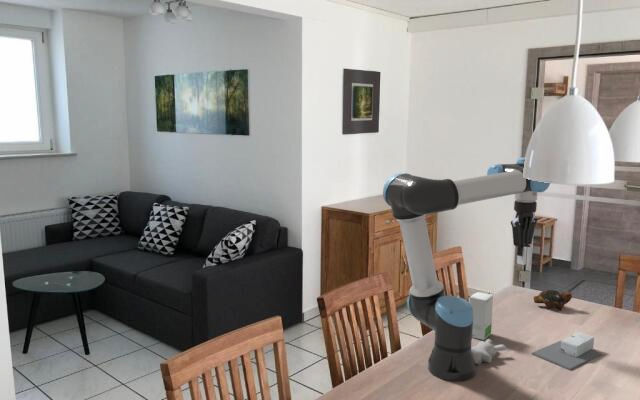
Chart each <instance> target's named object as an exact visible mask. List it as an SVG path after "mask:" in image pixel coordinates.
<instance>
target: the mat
mask: <svg viewBox="0 0 640 400" xmlns="http://www.w3.org/2000/svg"><path fill="white" fill-rule="evenodd" d="M564 339H565V338H563V339H561V340H559V341H556V342H554V343H552V344H549V345H547V346H545V347H543V348H542V347H541V348H540V349H538V350H535V351H533V352H531V355H533V356H535V357H537V358H540V359H542V360H545V361H547V362H549V363H552V364H554V365H557V366H559V367H561V368H563V369H566V370H569V371H572V370H573V369H575V368H577V367H579V366H581V365H584V364H585V363H588V362H590V361H592V360H594V359H596V358H598V357H600V356H602V355H603V352H601V351H599V350H598V351H597V350H595V349H593V348H592V349H590V350H589V351H587V352H585V353H583V354H582V355H580V356H578V357H575V356H572V355H568V354H566V353H564V352H561V351H560V350H561V341H562V340H564Z"/></svg>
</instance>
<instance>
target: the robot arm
mask: <svg viewBox="0 0 640 400" xmlns="http://www.w3.org/2000/svg"><path fill="white" fill-rule="evenodd" d="M524 161H525V156H522V157H518V158H517V160H516V163H506V164H505V163H497V164H492V165H490V166H489V167H488V169H487V172H486V175H480V176H477V177H476V176H475V177H468V178H465V179H464V178H463V179H458V180H452V179H451V178H446V179H445V178H444V179H433V178H427V177H421V176H419V175H418V176H417V175H412V174H410V173H402V172H400V173H396V174H394V175H393V174H392V175H391V176H390V177H389V178H388V179H387V180H386V182H385V184H384V186H383V188H382V197H383V199H384V202H385V203H386V205H388V206H390V208H391V213H392V218H393V219H394V220H395V221H397V222H398V223H399V228H400V232H401V237H402V241H403V246H404V252H405V257H406V259H407V264H408V271H409V273H410V277H411V278H410V279H411V283H412V285H411V287H410V288H409V293H408V295H409V296H407V300H406V305H407V309H408V311H409V313H410V314H411V316H413V318H415V320H417V321H419V322H420V323H421V324H423V325H425V326H426V327H428V328H429V329H431V330H432V331H434V342H433V345H434V346H433V348H432V350H431V352H430V355H429V358H428V361H427V362H428V363H427V368H428V371H429V372H430V373H431V375H434V376H436V377H437V378H439V379H442V380H447V381H451V382H452V381H453V382H454V381H455V382H460V381H461V382H462V381H468V380H470V379H472V378H474V377H475V375H476V370H477V366H476V365H477V364H475V362H474V360H473V355H472V351H471V346H472V342H473V340H472V338H473V337H472V328H473V318H474V317H473V308H472V306H471V304H470V301H468V300H466V299H464V298H462V297H461V296H460V297H459V296H455V295H448V294H447V295H446V290H445V287H444V283H442V282H441V281H439V280H438V276H437V269H436V265H435V261H434V255H433V251H432V245H431V241H430V235H429V231H428V226H427V222H426V216H427V215H431V214H437V213H438V214H439V213H441V212H446V211H451V210H455V209H456V208H458V206H460V205H465V204H471V203H475V202H480V201H486V200H491V199H497V198H501V197H505V196H511V195H514V199H515V200H514V203H513V210H514V211H515V212H516V213H515V219H514V220H511V221H510V225H511V229H512V239H513V240H512V241H513V245H514V246H515V247H517V250H516V251H517V252H516V253H517V254H516V255H517V256H516V264H517V265H522V266H525V265H527V263H526V262H527V253H528V248H531V245H532V242H533V238H534V233H535V229H536V225H537V222H538V217H534V216H535V215H534V213H536V212H537V205H538V204H537V200H538V193H544V192H545V191H546V190H548V189H549V187H550V184H551V182H550V183H544V182H538V181H532V180H528V179H525V178H523V168H524Z"/></svg>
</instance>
